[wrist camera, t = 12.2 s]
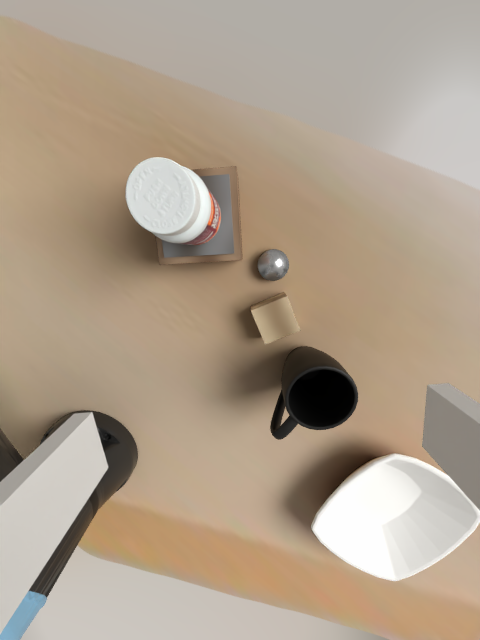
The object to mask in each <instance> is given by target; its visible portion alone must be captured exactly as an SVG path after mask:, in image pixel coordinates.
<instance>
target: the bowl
mask: <svg viewBox="0 0 480 640" xmlns="http://www.w3.org/2000/svg"><path fill="white" fill-rule="evenodd" d="M479 523H480V510H479V509H478V508H477V507H476V506H475V505H474V504H473V502H472V501H471V500H470V499H469V498H468V497H467V496H466V495H465V494H464V492H463V491H462V490H461V489H460V488H459V487H458V486H457V485H456V483H455V482H454V481H453V480H452V479H451V478H450V477H449V476H448V475H446V474H445V473H443V472H441V471H440V470H438V469H436V468H435V467H433V466H431V465H429V464H427V463H425V462H423V461H420V460H418V459H416V458H413V457H409V456H405V455H401V454H396V453H393V454H389V455H385V456H381V457H378V458H375V459H372V460H370V461H368V462H367V463H365V464H364V465H362V466H361V467H359V468H358V469H356V470H355V471H354V472H352V473H351V474H350V475H349V476H348V477H347V478H346V479H345V480H344V481H343V482H342V483H341V485H340V486H339V487H338V488H337V489H336V490H335V491H334V492H333V493H332V494H331V495H330V496H329V498H328V499H327V500H326V501H325V503H324V504H323V505H322V506H321V508H320V509H319V510H318V512H317V513H316V515H315V518H314V520H313V522H312V524H311V529H312V531H313V533H314V534H315V535H316V537H317V538H318V540H319V541H320V542H321V543H322V544H323V545H324V546H326V547H327V548H328V549H329V550H330V551H331V552H333V553H334V554H335V555H337V556H338V557H340V558H341V559H342V560H344V561H345V562H347V563H349V564H350V565H352V566H354V567H356V568H358V569H360V570H362V571H364V572H366V573H369V574H371V575H373V576H376V577H379V578H383V579H387V580H391V581H398V580H401V579H404V578H407V577H410V576H413V575H415V574H416V573H418V572H420V571H422V570H424V569H426V568H428V567H430V566H431V565H433V564H434V563H436V562H438V561H439V560H441V559H442V558H444V557H445V556H447V555H448V554H449V553H450V552H452V551H453V550H454V549H455V548H457V547H458V546H459V545H460V544H461V543H462V542H463V541H464V540H465V539H466V538H467V537H468V536H469V535H471V534H472V533H473V532H474V530H475V529H476V527H477V526H478V524H479Z"/></svg>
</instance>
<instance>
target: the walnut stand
mask: <svg viewBox="0 0 480 640" xmlns="http://www.w3.org/2000/svg"><path fill="white" fill-rule="evenodd" d="M192 171H193V172H194V173H196V174H197V175H198V176H199V177H200V178H201V179H202V181H203V182H204V183H205V185H206V186H207V188H208V189H209V191H210V192H211V194H212V195H213V196H214V198H215V199H216V201H217V203H218V205H219V208H220V212H221V222H220V226H219V229H218V231H217V233H216V234H215V236H214V237H213V238H212V239H211V240H209V241H208V242H206V243H203V244H199V245H187V244H178V243H170V242H167V241H164V240H162V239H160V238H158V237H157V236H156V244H157V251H158V258H159V265H165V264H182V263H199V262H216V261H233V260H242V259H243V258H242V239H241V221H240V203H239V185H238V173H237V168H236V166H233V167H220V168H208V169H195V170H192Z"/></svg>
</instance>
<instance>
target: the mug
mask: <svg viewBox="0 0 480 640" xmlns="http://www.w3.org/2000/svg"><path fill="white" fill-rule="evenodd" d="M357 402H358V392H357V387H356V385H355V383H354V381H353V379H352V378H351V377H350V375H349V374H348V373H347V372H346V370H345V369H344V368H343V367H342V366H341V365H340V363H339V362H337V361H336V360H335V359H334V358H332V357H331V356H329V355H328V354H326V353H324V352H322V351H319V350H317V349H315V348H312V347H307V346H305V347H299V348H297V349H295V350H293V351H292V352H291V353H290V354H289V355H288V357H287V359H286V363H285V365H284V368H283V373H282V390H281V393H280V395H279V398H278V401H277V404H276V407H275V410H274V413H273V417H272V420H271V426H270V429H271V433H272V435H273V436H274V437H275V438H276V439H283V438H284V437H286V436H287V435H288V434H289V433H290V432H291V431H292V430H293V429H294V428H295V427H296V425H297V424H300V425H301V426H303V427H306V428H309V429H314V430H326V429H330V428H334V427H336V426H338V425H340V424H342V423H343V422H345V421H346V420H347V419H348V418H349V417H350V416H351V415H352V413H353V412H354V410H355V408H356V405H357ZM285 406H286V409H287V412H288V413H289V415H290V416H289V417H288V418H287V419H286V421H285V422H284V423H283V424H282V425H281V420H282V416H283V413H284V409H285ZM280 425H281V426H280Z"/></svg>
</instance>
